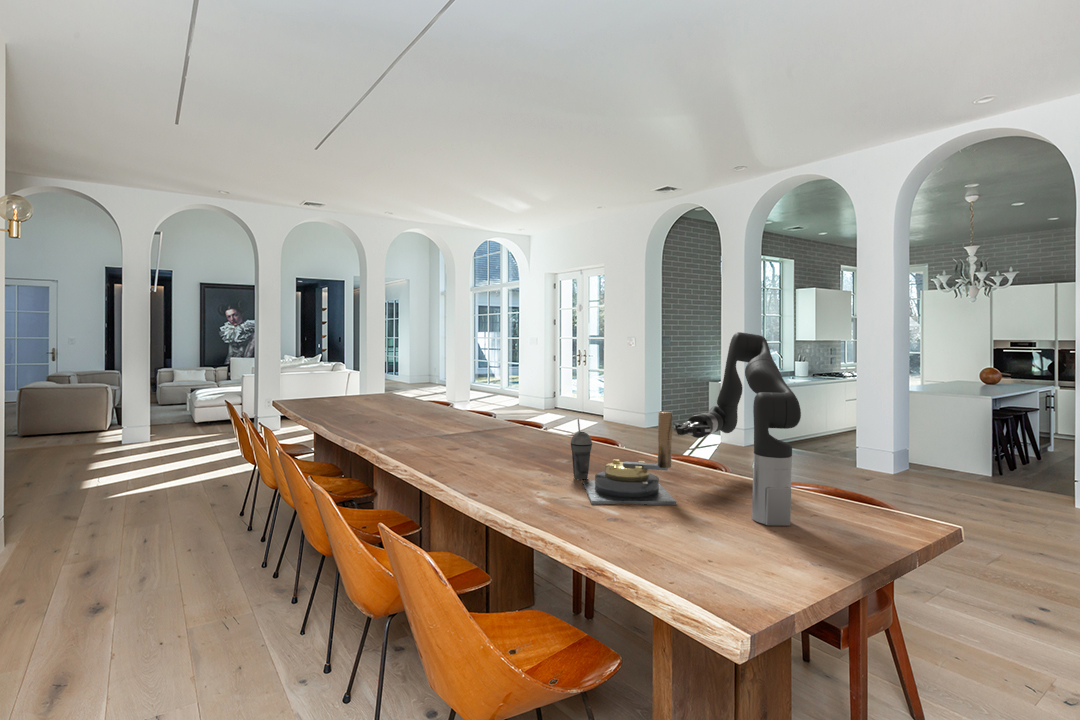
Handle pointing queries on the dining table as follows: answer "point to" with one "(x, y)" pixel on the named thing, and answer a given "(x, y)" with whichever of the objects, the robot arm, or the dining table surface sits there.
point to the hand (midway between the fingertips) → (679, 431)
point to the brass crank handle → (641, 469)
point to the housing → (627, 491)
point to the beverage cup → (581, 454)
